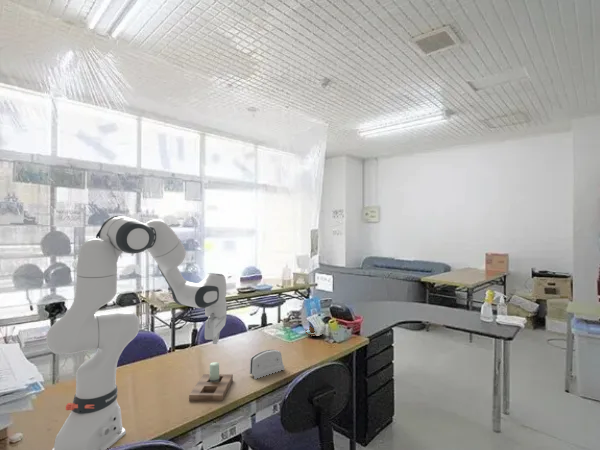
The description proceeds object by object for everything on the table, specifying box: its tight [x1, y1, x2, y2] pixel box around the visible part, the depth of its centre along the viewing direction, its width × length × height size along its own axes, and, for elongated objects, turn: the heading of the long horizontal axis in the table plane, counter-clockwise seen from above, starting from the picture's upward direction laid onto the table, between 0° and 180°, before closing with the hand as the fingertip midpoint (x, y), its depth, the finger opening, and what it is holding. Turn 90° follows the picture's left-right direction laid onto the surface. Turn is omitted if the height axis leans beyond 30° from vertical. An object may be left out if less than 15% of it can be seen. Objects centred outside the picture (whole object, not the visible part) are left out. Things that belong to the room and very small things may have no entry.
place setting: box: [304, 325, 315, 337], centre depth 215 cm, size 18×20×6 cm
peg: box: [209, 361, 220, 382], centre depth 143 cm, size 4×4×9 cm
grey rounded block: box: [248, 349, 285, 380], centre depth 156 cm, size 17×5×10 cm, turn 127°
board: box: [188, 373, 234, 402], centre depth 139 cm, size 18×13×2 cm
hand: (215, 342), depth 143 cm, fingers closed
